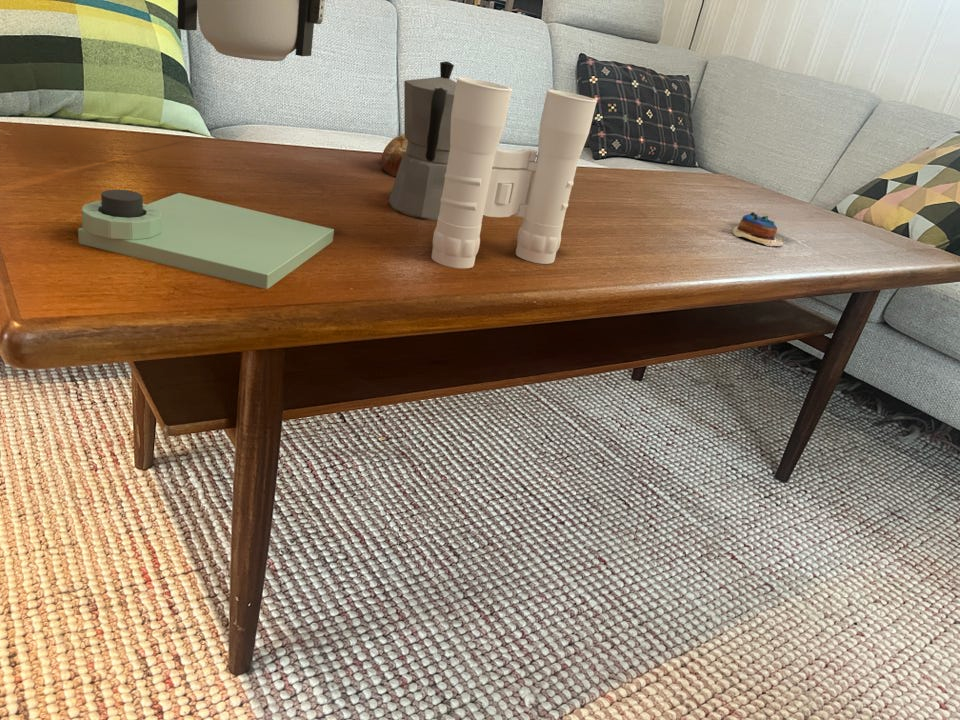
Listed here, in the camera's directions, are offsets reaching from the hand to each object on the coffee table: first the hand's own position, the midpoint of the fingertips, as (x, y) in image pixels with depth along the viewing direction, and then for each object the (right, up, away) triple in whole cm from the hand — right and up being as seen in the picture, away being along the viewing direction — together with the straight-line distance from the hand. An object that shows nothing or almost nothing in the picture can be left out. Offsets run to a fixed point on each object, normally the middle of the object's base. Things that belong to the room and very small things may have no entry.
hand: (245, 42), depth 78 cm
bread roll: (+16, -6, +33) cm, 37 cm away
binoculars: (+27, -23, +2) cm, 36 cm away
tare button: (-6, -22, -15) cm, 27 cm away
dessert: (+69, -15, +38) cm, 81 cm away
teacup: (-1, -1, 0) cm, 2 cm away
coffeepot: (+18, -16, +14) cm, 28 cm away
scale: (+1, -23, -10) cm, 25 cm away
